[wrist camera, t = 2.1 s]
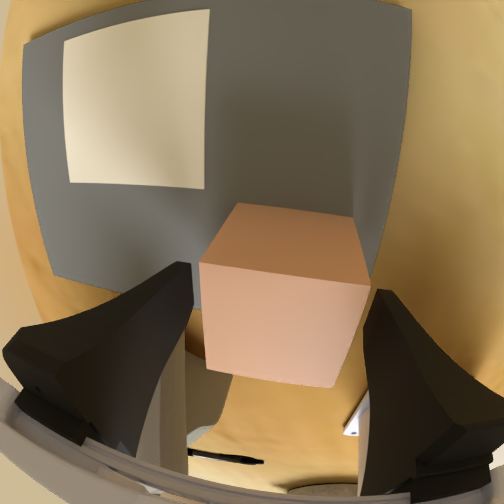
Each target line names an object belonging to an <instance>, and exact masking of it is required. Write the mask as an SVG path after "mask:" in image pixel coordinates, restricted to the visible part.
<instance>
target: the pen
mask: <svg viewBox="0 0 504 504" xmlns="http://www.w3.org/2000/svg"><path fill="white" fill-rule="evenodd" d="M187 452H188V456H196V457H202V458H207V459H213V460H220V461H226V462H234V463H241V464H247V465H256V464H264V461H263V460H256V459H254V458H251V457H246V456H239V455H224V454H213V453H207V452H202V451H197V450H193V449H188V448H187ZM240 457H242V458H240Z"/></svg>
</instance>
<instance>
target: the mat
mask: <svg viewBox="0 0 504 504" xmlns="http://www.w3.org/2000/svg"><path fill="white" fill-rule="evenodd" d="M411 34H412V10H411V9H408V8H404V7H401V6H397V5H393V4H389V3H385V2H381V1H377V0H146V1H141V2H137V3H133V4H129V5H125V6H122V7H118V8H115V9H111V10H108V11H105V12H102V13H98V14H95V15H92V16H90V17H87V18H84V19H81V20H78V21H76V22H73V23H71V24H68V25H66V26H63V27H61V28H58V29H56V30H54V31H51V32H49V33H47V34H45V35H43V36H41V37H38V38H36V39H34V40H32V41H30V42H28V43H26V44H24V47H23V65H22V105H23V124H24V136H25V146H26V155H27V162H28V169H29V176H30V182H31V188H32V193H33V198H34V203H35V208H36V213H37V217H38V221H39V225H40V230H41V233H42V237H43V241H44V245H45V248H46V252H47V255H48V259H49V262H50V265H51V268H52V272H53V275H55V276H58V277H62V278H65V279H69V280H73V281H76V282H80V283H84V284H88V285H92V286H96V287H99V288H103V289H107V290H112V291H116V292H120V293H125V292H127V291H128V290H130V289H132V288H134V287H135V286H137V285H139V284H141V283H142V282H144V281H145V280H147V279H148V278H150V277H152V276H153V275H155V274H156V273H158V272H159V271H161V270H163V269H164V268H166V267H167V266H169V265H171V264H172V263H174V262H176V261H181V262H187V263H191V266H192V280H193V293H194V306H193V308H194V309H199V310H202V306H201V290H200V273H199V261H200V260H201V258H202V257H203V255H204V253H205V252H206V250H207V249H208V247H209V246H210V244H211V242H212V241H213V239H214V238H215V236H216V235H217V233H218V232H219V230H220V229H221V227H222V226H223V224H224V222H225V221H226V219H227V218H228V216H229V215H230V213H231V212H232V210H233V209H234V207H235V206H236V204H237V203H246V204H255V205H263V206H272V207H280V208H288V209H296V210H303V211H311V212H318V213H325V214H332V215H339V216H346V217H352V218H353V220H354V223H355V226H356V230H357V233H358V237H359V240H360V244H361V247H362V251H363V255H364V259H365V262H366V266H367V270H368V274H369V278H370V277H371V274H372V270H373V267H374V264H375V260H376V257H377V253H378V249H379V246H380V242H381V238H382V234H383V230H384V226H385V222H386V218H387V214H388V210H389V205H390V201H391V196H392V192H393V187H394V182H395V177H396V172H397V166H398V161H399V155H400V149H401V143H402V136H403V129H404V122H405V114H406V106H407V97H408V87H409V75H410V60H411Z"/></svg>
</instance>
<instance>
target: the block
mask: <svg viewBox="0 0 504 504" xmlns="http://www.w3.org/2000/svg"><path fill="white" fill-rule="evenodd" d="M199 273H200V290H201V306H202V320H203V333H204V345H205V356H206V367H207V369H210V370H214V371H219V372H224V373H229V374H234V375H239V376H245V377H250V378H256V379H262V380H269V381H275V382H282V383H289V384H297V385H305V386H314V387H323V388H333V386H334V384H335V382H336V379H337V377H338V375H339V372H340V370H341V368H342V365H343V363H344V360H345V358H346V355H347V353H348V350H349V348H350V345H351V343H352V340H353V337H354V335H355V332H356V329H357V327H358V324H359V321H360V318H361V316H362V313H363V310H364V307H365V304H366V301H367V298H368V295H369V292H370V289H371V282H370V278H369V274H368V270H367V266H366V262H365V259H364V255H363V251H362V247H361V244H360V240H359V237H358V233H357V230H356V226H355V223H354V220H353V218H352V217H346V216H339V215H332V214H325V213H318V212H311V211H303V210H296V209H288V208H280V207H272V206H263V205H255V204H246V203H237V204H236V206H235V207H234V209H233V210H232V212H231V213H230V215H229V216H228V218H227V219H226V221H225V222H224V224H223V226H222V227H221V229H220V230H219V232H218V233H217V235H216V236H215V238H214V239H213V241H212V242H211V244H210V246H209V247H208V249H207V250H206V252H205V253H204V255H203V257H202V258H201V260H200V261H199Z"/></svg>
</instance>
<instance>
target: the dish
mask: <svg viewBox="0 0 504 504" xmlns="http://www.w3.org/2000/svg"><path fill="white" fill-rule="evenodd" d="M357 492H358V484H326V485H313V486H306V487H301V488H296V489H293V490H290V491H289V492H288V494H293V495H306V496H328V497H355V496H357Z"/></svg>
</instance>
